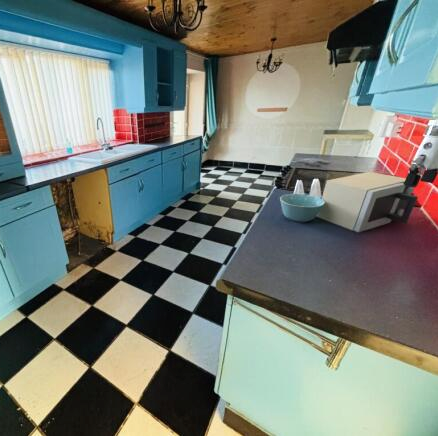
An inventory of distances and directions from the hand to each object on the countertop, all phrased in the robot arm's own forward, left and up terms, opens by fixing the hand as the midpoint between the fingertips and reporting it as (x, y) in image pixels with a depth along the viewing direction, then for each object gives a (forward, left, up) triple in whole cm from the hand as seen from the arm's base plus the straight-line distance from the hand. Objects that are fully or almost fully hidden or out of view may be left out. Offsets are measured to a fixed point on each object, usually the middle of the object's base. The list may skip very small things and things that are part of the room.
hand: (418, 183), depth 82 cm
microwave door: (+2, +8, -17) cm, 19 cm away
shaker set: (+35, +3, -17) cm, 39 cm away
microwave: (+11, +4, -17) cm, 21 cm away
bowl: (+22, +24, -17) cm, 37 cm away
